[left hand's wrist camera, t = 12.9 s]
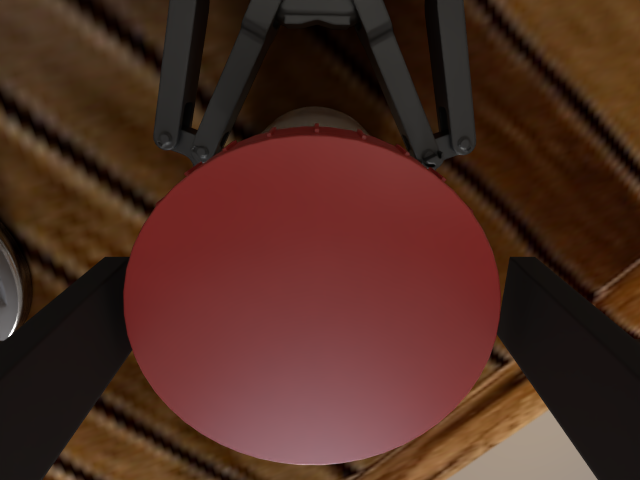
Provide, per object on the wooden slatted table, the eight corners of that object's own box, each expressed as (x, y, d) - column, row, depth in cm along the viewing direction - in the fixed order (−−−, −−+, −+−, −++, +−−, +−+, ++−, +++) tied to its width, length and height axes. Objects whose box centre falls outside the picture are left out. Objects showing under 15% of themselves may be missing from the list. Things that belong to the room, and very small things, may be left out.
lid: (224, 449, 16) (212, 498, 14) (86, 189, 12) (45, 209, 10) (501, 377, 15) (528, 420, 13) (438, 71, 11) (463, 69, 9)
